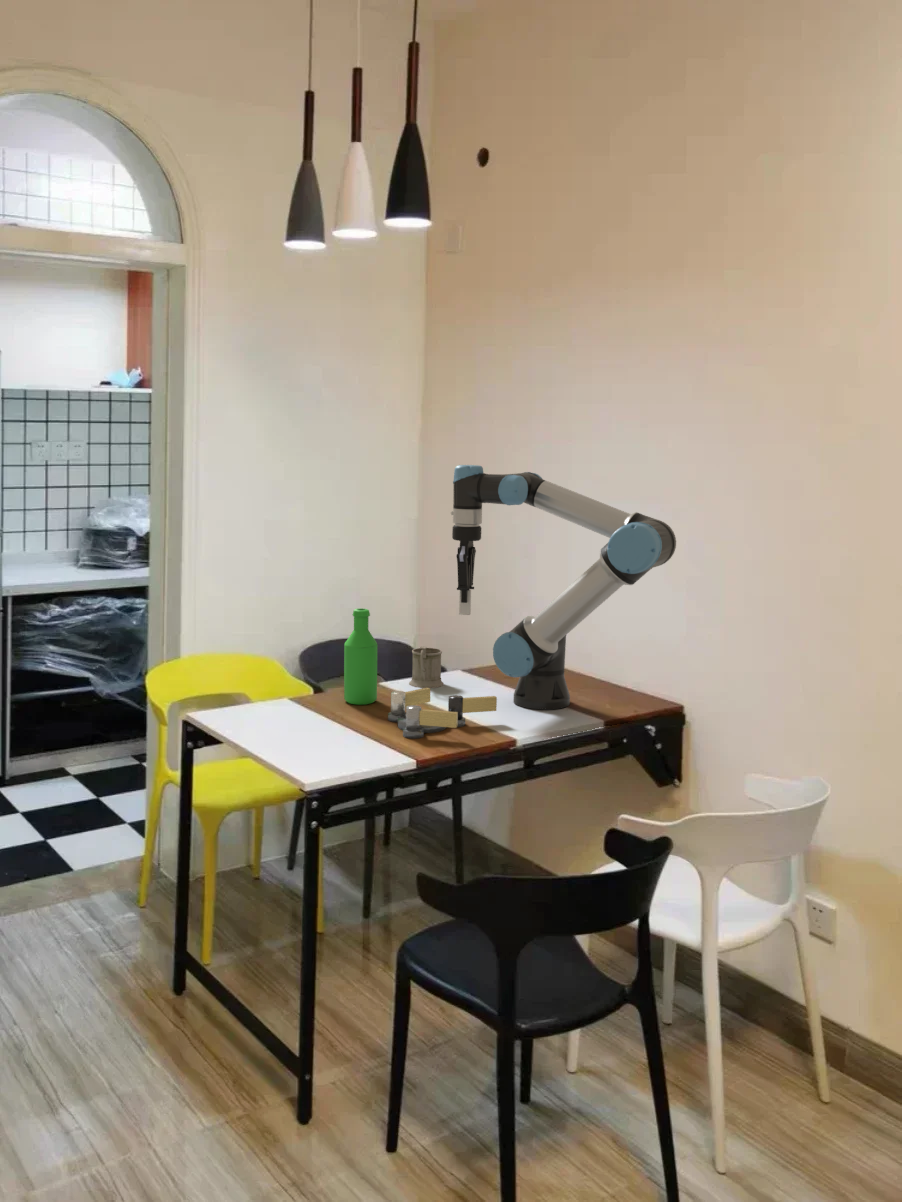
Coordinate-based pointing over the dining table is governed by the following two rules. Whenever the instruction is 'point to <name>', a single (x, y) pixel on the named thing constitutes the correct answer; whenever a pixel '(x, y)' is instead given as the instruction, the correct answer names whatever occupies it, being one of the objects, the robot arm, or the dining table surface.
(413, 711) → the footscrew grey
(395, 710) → the lever
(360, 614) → the bottle
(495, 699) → the black and tan lever
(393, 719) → the tribrach plate
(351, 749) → the dining table surface
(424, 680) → the mug
